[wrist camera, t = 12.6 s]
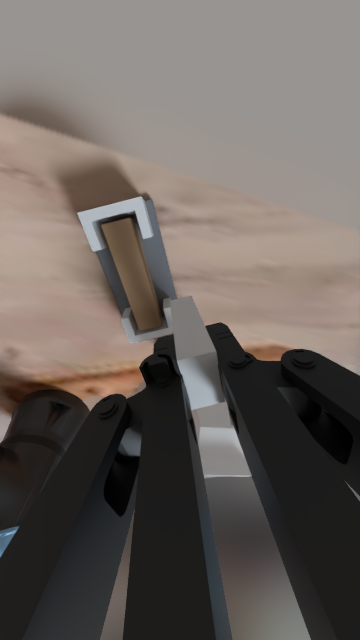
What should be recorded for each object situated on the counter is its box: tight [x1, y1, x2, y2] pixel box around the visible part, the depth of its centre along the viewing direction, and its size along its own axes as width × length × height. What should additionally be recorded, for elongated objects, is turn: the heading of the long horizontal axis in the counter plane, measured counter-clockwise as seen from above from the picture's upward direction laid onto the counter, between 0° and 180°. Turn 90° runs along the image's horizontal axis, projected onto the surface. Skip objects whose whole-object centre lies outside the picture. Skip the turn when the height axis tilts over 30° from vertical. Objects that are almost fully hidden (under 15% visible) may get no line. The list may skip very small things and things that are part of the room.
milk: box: [191, 399, 252, 476], centre depth 30 cm, size 6×6×22 cm
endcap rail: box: [77, 196, 177, 344], centre depth 29 cm, size 10×19×6 cm, turn 13°
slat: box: [101, 218, 162, 331], centre depth 29 cm, size 4×15×5 cm, turn 12°
